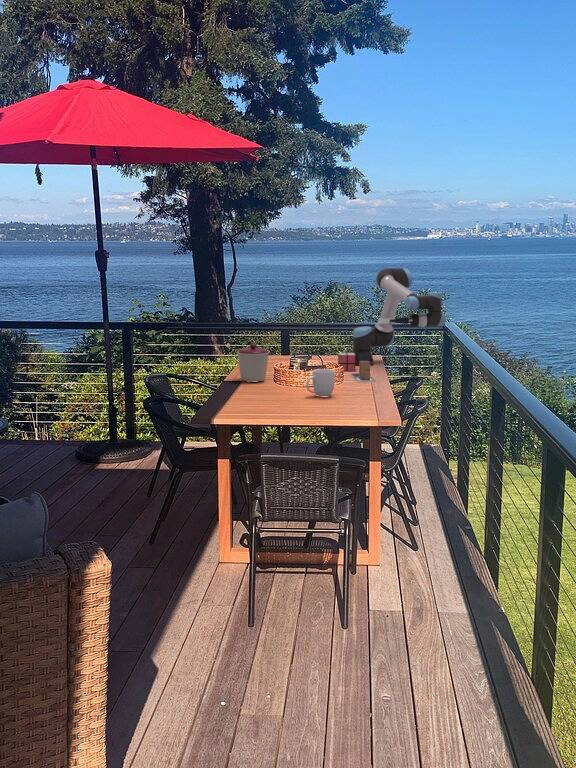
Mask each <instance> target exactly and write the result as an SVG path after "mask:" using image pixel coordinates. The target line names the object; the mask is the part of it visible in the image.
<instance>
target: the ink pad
mask: <svg viewBox="0 0 576 768" xmlns="http://www.w3.org/2000/svg"><path fill="white" fill-rule="evenodd" d="M349 376H350V377H351V378H357V377H359V372H358V373H350V374H349Z"/></svg>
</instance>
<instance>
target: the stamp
mask: <svg viewBox="0 0 576 768" xmlns="http://www.w3.org/2000/svg"><path fill="white" fill-rule="evenodd" d="M358 373H359V379H360V380H370V377H371V365H370V362H369V361H359V366H358Z"/></svg>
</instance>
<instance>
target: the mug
mask: <svg viewBox="0 0 576 768" xmlns="http://www.w3.org/2000/svg"><path fill="white" fill-rule="evenodd" d="M335 377H336V371H335V370H334V369H330V368H316V369H313V370H312V375H311V376H309V377H308V378H307V379H306V383H305V384H306V385H305V387H306V390H307V391H308V392H309V393H312V394H315V395H319V396H330V397H331V395H332V394H333V392H334V388H335ZM311 379H312V386H313V390H311V389H310V386H309V383H310V380H311Z"/></svg>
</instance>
